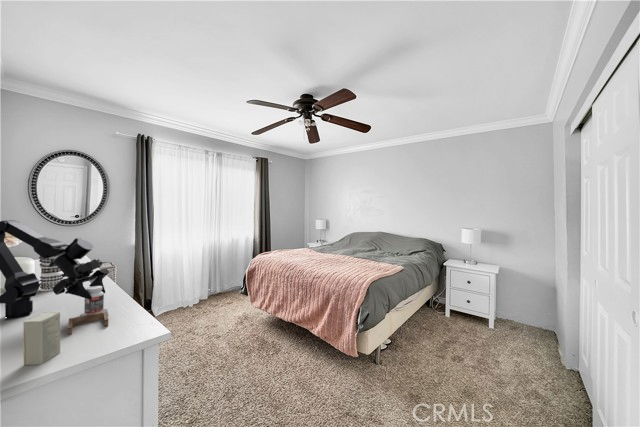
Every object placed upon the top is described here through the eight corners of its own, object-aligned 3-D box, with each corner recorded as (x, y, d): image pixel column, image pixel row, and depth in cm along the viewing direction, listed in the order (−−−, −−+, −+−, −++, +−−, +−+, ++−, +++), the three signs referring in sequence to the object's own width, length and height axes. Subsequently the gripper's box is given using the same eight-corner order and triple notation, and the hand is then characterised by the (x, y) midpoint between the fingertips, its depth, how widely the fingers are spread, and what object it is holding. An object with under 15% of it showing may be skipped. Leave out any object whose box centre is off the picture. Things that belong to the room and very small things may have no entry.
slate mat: (81, 321, 96) (81, 320, 96) (81, 314, 102) (81, 313, 102) (108, 315, 102) (108, 314, 102) (107, 309, 108) (107, 308, 108)
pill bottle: (92, 315, 99) (92, 290, 99) (80, 314, 100) (80, 288, 100) (107, 310, 104) (107, 285, 104) (96, 308, 105) (96, 284, 105)
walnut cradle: (67, 335, 86) (67, 327, 86) (68, 325, 93) (68, 318, 93) (108, 325, 93) (108, 319, 93) (106, 317, 100) (106, 311, 100)
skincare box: (45, 352, 76) (44, 312, 75) (61, 352, 76) (61, 311, 76) (22, 365, 69) (22, 321, 69) (40, 365, 70) (39, 321, 70)
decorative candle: (51, 291, 129) (51, 242, 128) (33, 291, 129) (32, 241, 129) (69, 286, 138) (69, 239, 138) (52, 285, 138) (52, 239, 138)
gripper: (60, 257, 92) (89, 289, 92) (105, 249, 111) (130, 276, 111) (39, 278, 93) (68, 310, 93) (87, 267, 112) (112, 293, 111)
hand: (97, 295), depth 102 cm, fingers closed on pill bottle, 6 cm apart
